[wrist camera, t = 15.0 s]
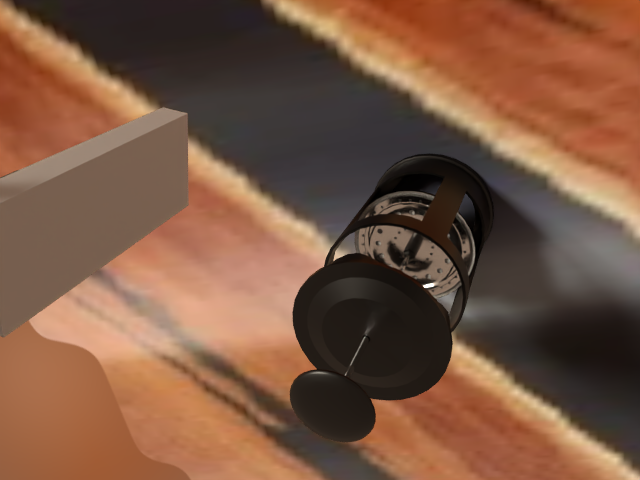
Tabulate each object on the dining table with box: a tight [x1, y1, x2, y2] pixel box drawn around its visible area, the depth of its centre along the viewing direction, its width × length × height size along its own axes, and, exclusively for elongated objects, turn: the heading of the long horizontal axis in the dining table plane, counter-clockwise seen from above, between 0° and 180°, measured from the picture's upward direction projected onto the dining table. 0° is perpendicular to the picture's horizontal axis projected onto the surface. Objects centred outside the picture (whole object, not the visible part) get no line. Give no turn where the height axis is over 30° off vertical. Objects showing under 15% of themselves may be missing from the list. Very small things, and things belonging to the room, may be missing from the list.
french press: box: [290, 154, 494, 442], centre depth 36 cm, size 12×9×23 cm
